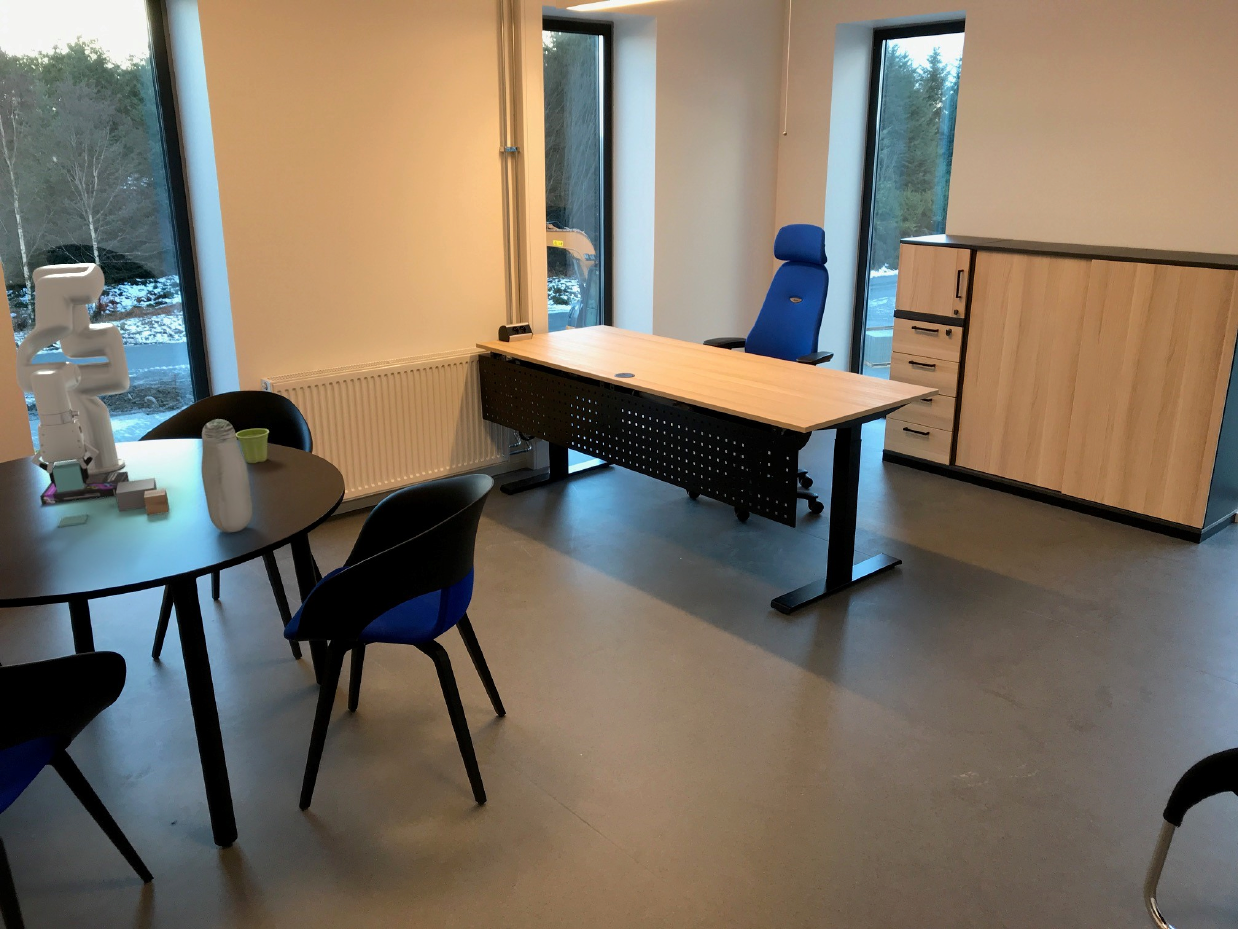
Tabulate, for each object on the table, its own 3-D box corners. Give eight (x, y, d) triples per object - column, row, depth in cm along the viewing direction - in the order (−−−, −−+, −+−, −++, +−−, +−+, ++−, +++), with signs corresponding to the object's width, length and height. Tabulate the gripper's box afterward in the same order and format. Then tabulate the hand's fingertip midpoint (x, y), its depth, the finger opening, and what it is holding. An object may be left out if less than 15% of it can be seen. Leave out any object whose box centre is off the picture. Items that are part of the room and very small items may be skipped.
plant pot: (249, 455, 303) (245, 428, 301) (278, 455, 302) (274, 428, 299) (234, 465, 295) (229, 437, 292) (263, 465, 293) (259, 437, 290)
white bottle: (254, 534, 242) (237, 424, 233) (210, 540, 239) (191, 428, 230) (256, 520, 251) (240, 413, 242) (213, 525, 248) (195, 417, 239)
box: (42, 507, 267) (120, 498, 271) (39, 495, 266) (117, 486, 270) (55, 490, 280) (130, 481, 284) (52, 478, 278) (127, 469, 283)
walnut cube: (148, 509, 261) (144, 491, 260) (168, 506, 263) (165, 488, 261) (147, 515, 257) (144, 497, 255) (168, 512, 258) (165, 494, 257)
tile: (61, 519, 255) (61, 517, 255) (87, 515, 257) (87, 513, 257) (58, 527, 250) (58, 525, 250) (85, 523, 252) (84, 521, 252)
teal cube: (60, 484, 260) (55, 462, 258) (85, 480, 262) (81, 459, 260) (57, 491, 255) (52, 470, 253) (83, 488, 257) (78, 466, 255)
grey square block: (121, 500, 268) (118, 482, 266) (158, 495, 271) (154, 477, 269) (119, 511, 260) (115, 493, 258) (156, 505, 263) (153, 488, 261)
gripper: (95, 409, 259) (108, 474, 265) (20, 418, 253) (35, 483, 259) (92, 417, 252) (106, 483, 258) (15, 426, 246) (31, 493, 252)
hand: (71, 483), depth 259 cm, fingers closed on teal cube, 6 cm apart
